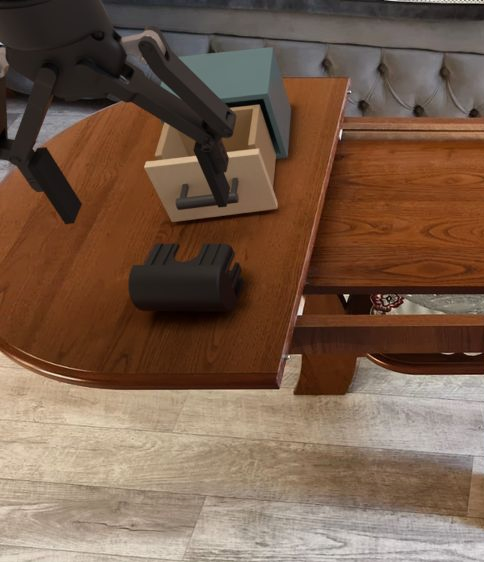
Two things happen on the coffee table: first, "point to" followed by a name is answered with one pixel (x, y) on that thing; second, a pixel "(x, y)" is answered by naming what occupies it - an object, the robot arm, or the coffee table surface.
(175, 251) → the end cap
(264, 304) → the coffee table surface
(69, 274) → the coffee table surface
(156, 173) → the drawer
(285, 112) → the cabinet
